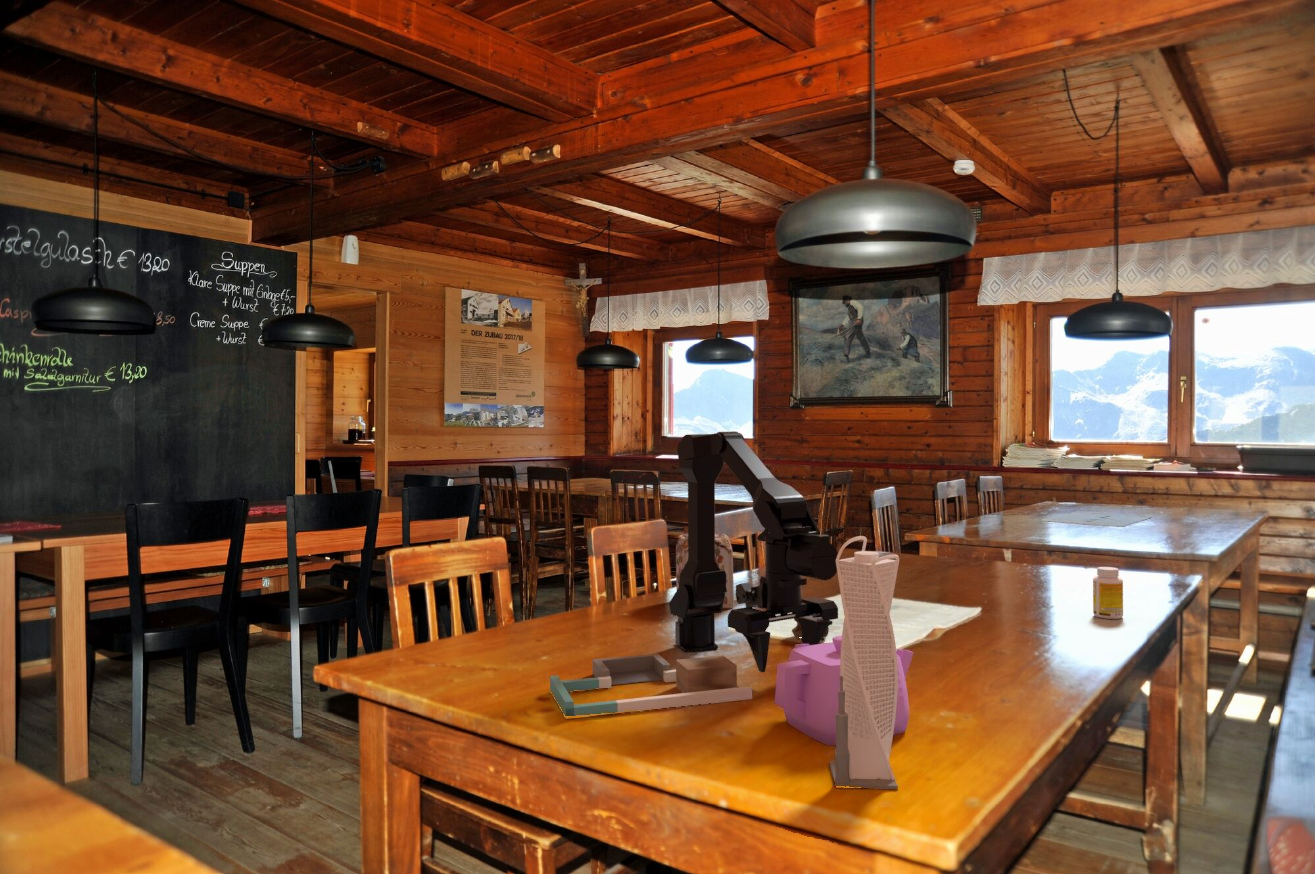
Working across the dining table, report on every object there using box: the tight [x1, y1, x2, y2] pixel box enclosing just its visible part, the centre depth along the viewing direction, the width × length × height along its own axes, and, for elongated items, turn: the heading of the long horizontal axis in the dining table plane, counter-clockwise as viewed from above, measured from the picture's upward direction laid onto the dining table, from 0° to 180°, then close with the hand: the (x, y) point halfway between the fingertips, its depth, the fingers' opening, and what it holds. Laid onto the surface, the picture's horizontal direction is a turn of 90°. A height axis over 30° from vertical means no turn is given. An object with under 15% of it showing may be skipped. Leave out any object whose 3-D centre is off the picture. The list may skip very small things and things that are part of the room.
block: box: [675, 655, 738, 693], centre depth 137 cm, size 8×6×4 cm
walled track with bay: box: [549, 653, 753, 716], centre depth 138 cm, size 29×21×2 cm
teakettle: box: [774, 635, 914, 747], centre depth 120 cm, size 17×17×12 cm
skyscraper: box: [828, 535, 900, 790], centre depth 104 cm, size 8×8×28 cm
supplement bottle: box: [1092, 566, 1124, 620], centre depth 183 cm, size 6×6×10 cm
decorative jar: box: [675, 532, 735, 610], centre depth 201 cm, size 12×12×18 cm
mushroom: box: [791, 618, 830, 639], centre depth 169 cm, size 8×8×6 cm
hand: (784, 667), depth 141 cm, fingers open, 9 cm apart
